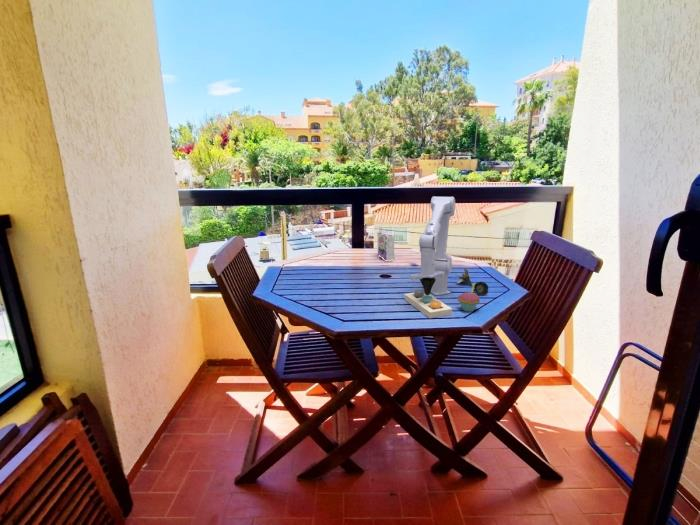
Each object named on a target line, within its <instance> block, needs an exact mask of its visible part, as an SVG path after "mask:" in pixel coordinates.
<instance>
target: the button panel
mask: <svg viewBox="0 0 700 525" xmlns="http://www.w3.org/2000/svg"><path fill="white" fill-rule="evenodd" d="M424 296H425V293H424ZM428 296H432V301H439V302H441V309H435V310H433V309H431V308H430V303H427V304H424V303H423V302H422V298H416V297H414V292H408V293H404V299H403V300H404V301H406V302H407V303H409V304H410V305H412V307H413V308H416V309H417V310H418V311H419V312H421V313H422V314H423V315H424V316H426V317H428V318H429V319H434V318H440V317H445V316H446V317H447V316H451V315H453V308H452V307H450V306H449V305H447V304H446V303H444V302H442V301H441V300H440V299H438V298H436V297H434V296H433V295H431V294H430V295H428Z"/></svg>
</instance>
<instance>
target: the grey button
mask: <svg viewBox="0 0 700 525" xmlns="http://www.w3.org/2000/svg"><path fill="white" fill-rule="evenodd" d="M413 293H414V297H416V298H422V296H424V290H420V289H418V290H417V289H416V290H414V292H413Z"/></svg>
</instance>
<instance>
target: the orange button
mask: <svg viewBox="0 0 700 525" xmlns="http://www.w3.org/2000/svg"><path fill="white" fill-rule="evenodd" d="M439 301H440V300H439ZM439 301H431V302H430V308H431V309H433V310H435V309H441V302H442V301H441V302H439Z"/></svg>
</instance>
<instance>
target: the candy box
mask: <svg viewBox="0 0 700 525" xmlns="http://www.w3.org/2000/svg"><path fill="white" fill-rule="evenodd" d="M378 255H380V256H381V257H383V258H384V259H385V260H391V259H394V260H395V234H393V233H391V232H388V231H386V230H382V231H377V256H378Z"/></svg>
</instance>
